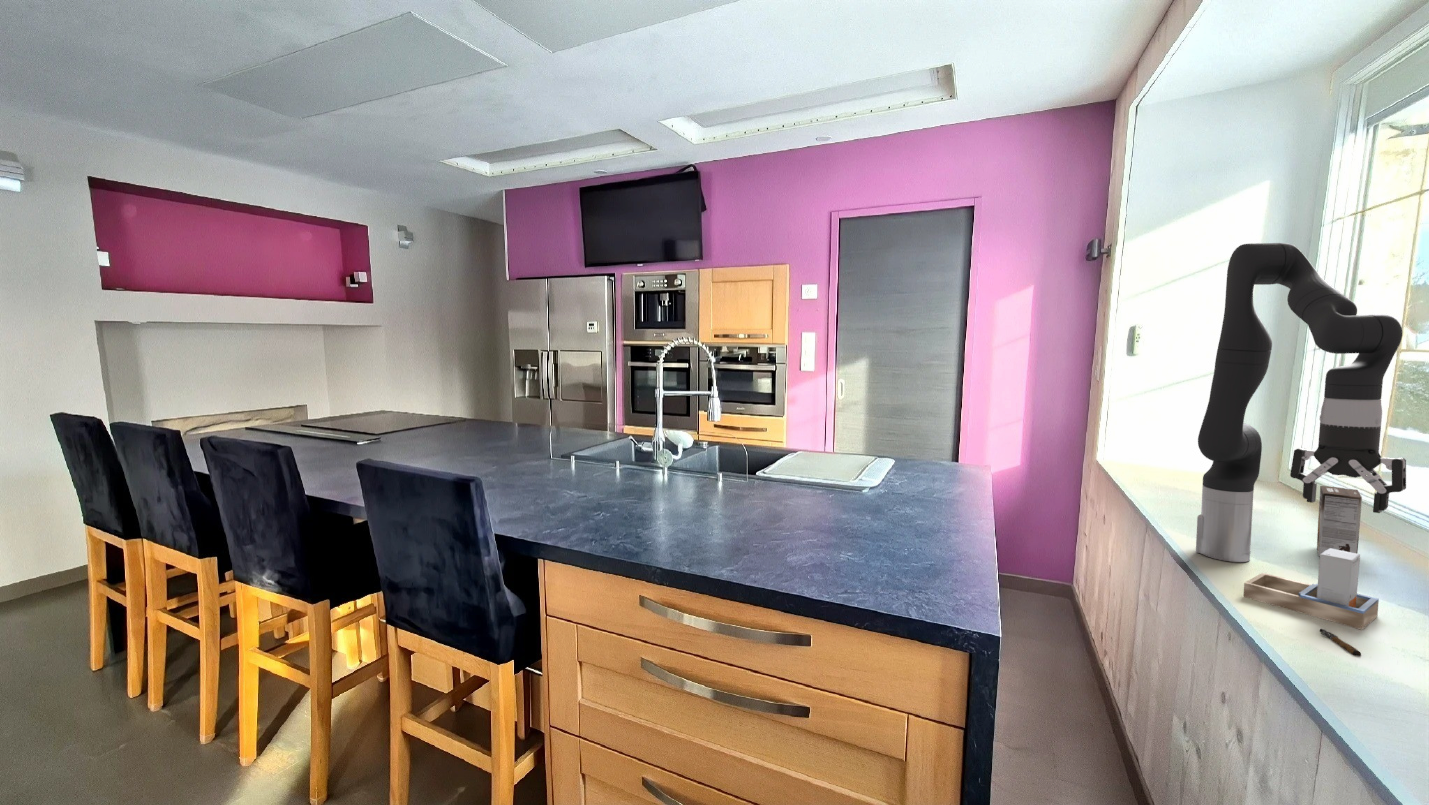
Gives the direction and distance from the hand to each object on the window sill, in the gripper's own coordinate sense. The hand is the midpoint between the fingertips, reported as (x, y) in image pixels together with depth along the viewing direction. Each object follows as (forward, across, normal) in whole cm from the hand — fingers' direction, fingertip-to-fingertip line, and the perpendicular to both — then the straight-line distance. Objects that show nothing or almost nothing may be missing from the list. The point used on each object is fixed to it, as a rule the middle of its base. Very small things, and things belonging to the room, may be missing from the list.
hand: (1342, 506), depth 105 cm
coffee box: (+22, +9, -42) cm, 48 cm away
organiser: (+21, +4, 0) cm, 22 cm away
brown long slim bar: (+22, -4, +14) cm, 26 cm away
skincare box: (+21, 0, 0) cm, 21 cm away
